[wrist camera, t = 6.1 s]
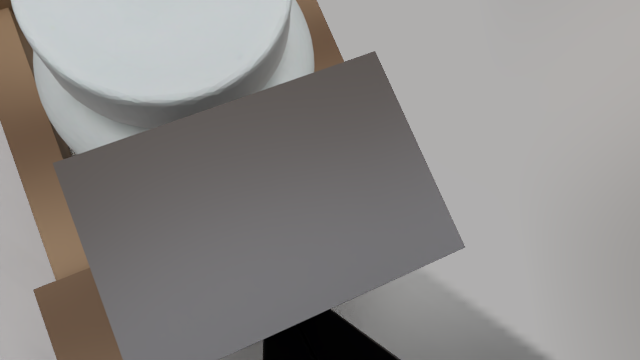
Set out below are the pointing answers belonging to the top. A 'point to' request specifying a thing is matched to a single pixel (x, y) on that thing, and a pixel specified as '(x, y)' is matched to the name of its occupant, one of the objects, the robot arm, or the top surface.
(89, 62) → the supplement bottle
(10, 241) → the top surface
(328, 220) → the wooden display stand
